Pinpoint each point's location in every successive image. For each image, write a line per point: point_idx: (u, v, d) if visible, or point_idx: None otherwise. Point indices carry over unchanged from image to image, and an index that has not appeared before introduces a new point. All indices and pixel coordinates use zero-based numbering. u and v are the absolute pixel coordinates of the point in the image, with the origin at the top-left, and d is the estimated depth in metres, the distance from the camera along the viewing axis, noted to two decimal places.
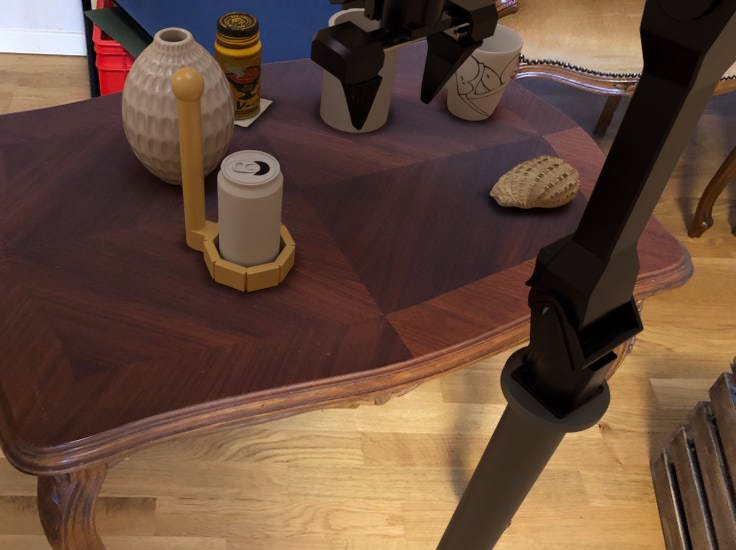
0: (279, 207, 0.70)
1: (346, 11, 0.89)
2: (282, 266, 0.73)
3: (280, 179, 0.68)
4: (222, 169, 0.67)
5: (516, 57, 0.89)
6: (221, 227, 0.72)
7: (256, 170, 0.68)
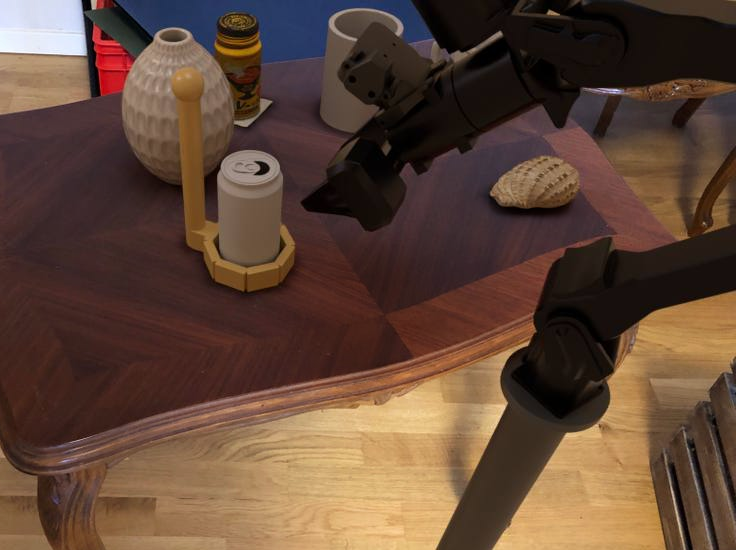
0: (279, 207, 0.70)
1: (346, 11, 0.89)
2: (282, 266, 0.73)
3: (280, 179, 0.68)
4: (222, 169, 0.67)
5: None
6: (221, 227, 0.72)
7: (256, 170, 0.68)
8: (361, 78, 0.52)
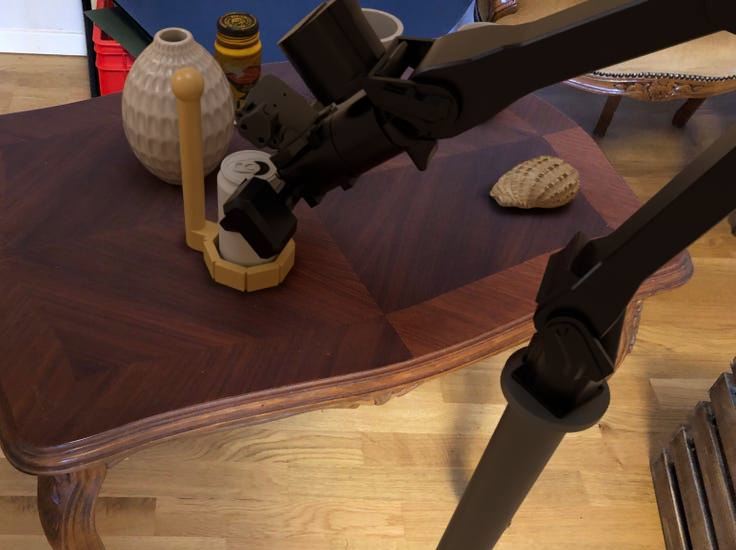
0: None
1: None
2: (282, 266, 0.73)
3: None
4: (222, 169, 0.67)
5: None
6: (221, 227, 0.72)
7: (256, 170, 0.68)
8: (251, 126, 0.59)
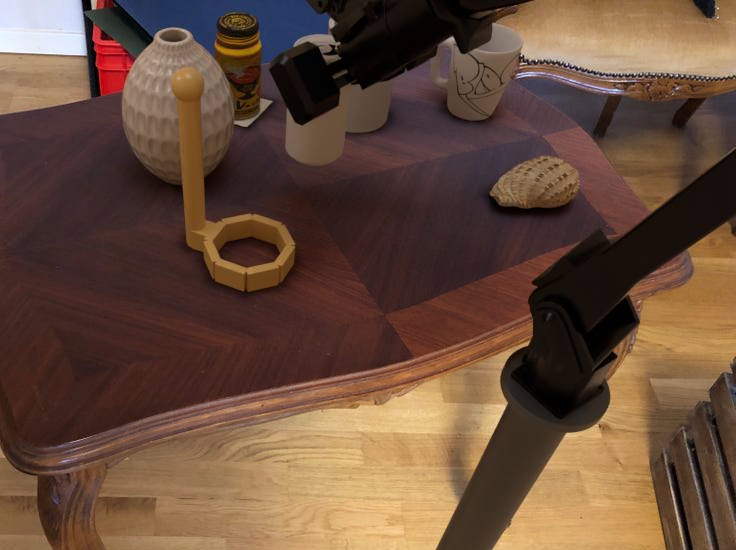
0: (343, 95, 0.71)
1: None
2: (282, 266, 0.73)
3: None
4: (295, 44, 0.70)
5: (516, 57, 0.89)
6: None
7: (326, 51, 0.69)
8: None
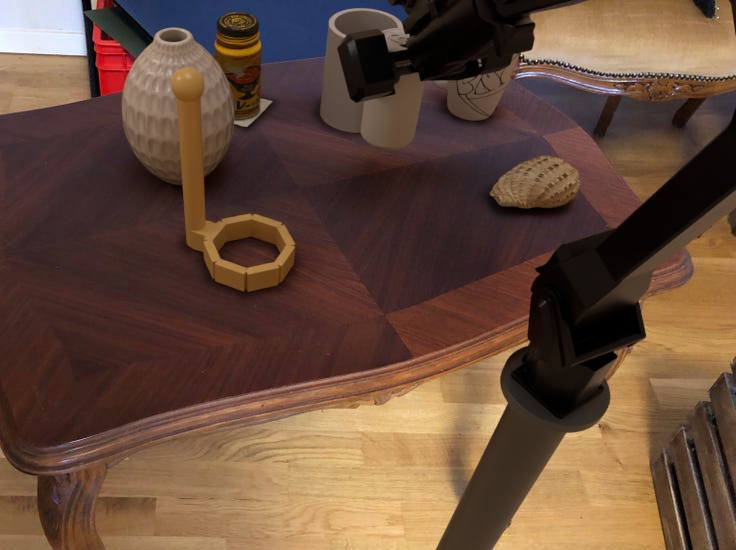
0: (413, 86, 0.77)
1: (346, 11, 0.89)
2: (282, 266, 0.73)
3: None
4: None
5: (516, 57, 0.89)
6: None
7: (405, 43, 0.75)
8: None
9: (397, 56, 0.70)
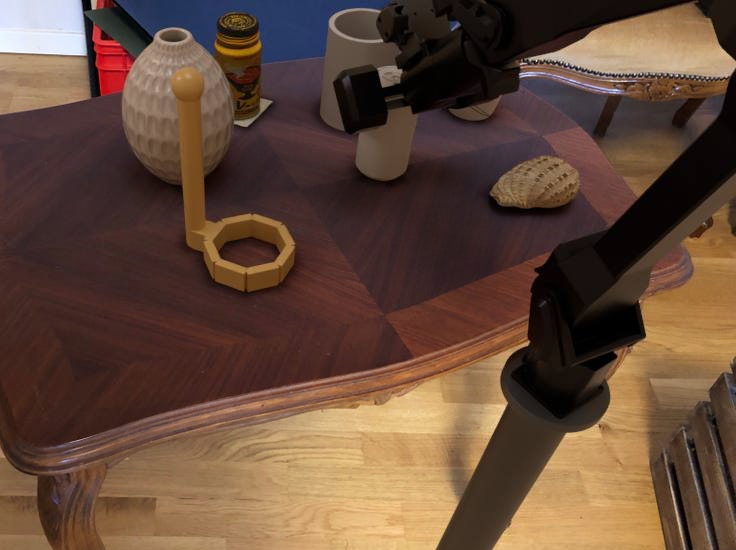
0: (406, 122, 0.80)
1: (346, 11, 0.89)
2: (282, 266, 0.73)
3: None
4: None
5: None
6: None
7: (398, 82, 0.79)
8: (383, 20, 0.71)
9: (390, 91, 0.73)
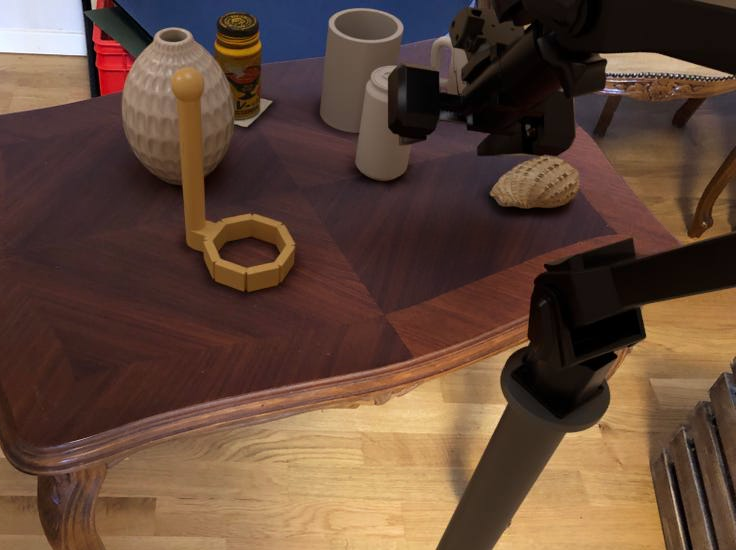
0: None
1: (346, 11, 0.89)
2: (282, 266, 0.73)
3: None
4: (374, 71, 0.80)
5: None
6: None
7: None
8: (457, 23, 0.65)
9: (448, 98, 0.66)
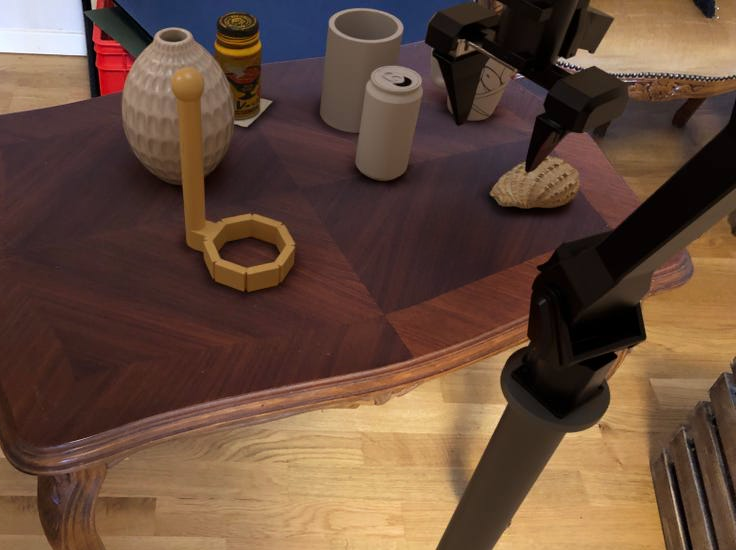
0: (406, 122, 0.80)
1: (346, 11, 0.89)
2: (282, 266, 0.73)
3: (413, 97, 0.78)
4: (374, 71, 0.80)
5: None
6: None
7: (398, 82, 0.79)
8: None
9: (488, 31, 0.64)
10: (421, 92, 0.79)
